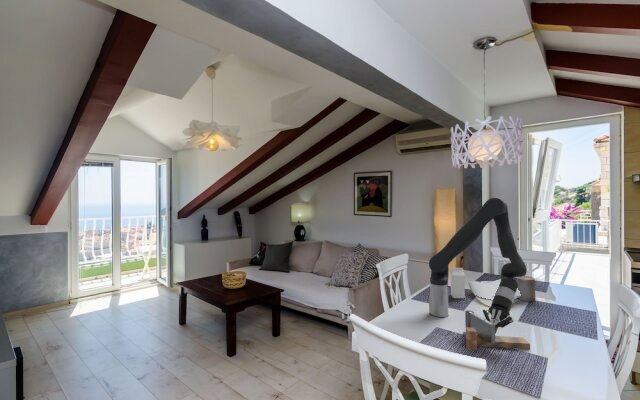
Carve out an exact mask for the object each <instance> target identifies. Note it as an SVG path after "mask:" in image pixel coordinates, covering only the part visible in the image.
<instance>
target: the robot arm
mask: <svg viewBox="0 0 640 400" xmlns="http://www.w3.org/2000/svg"><path fill="white" fill-rule="evenodd" d="M492 220H493V221H494V224H495V228H496V234H497V243H498V247H499V250H500V254H501V256H502V257H503V259H504V258H505V259H509V261H510V262H507V263H505V264H503V265H502V267H501V269H500V284H499V287H498V289H497V291H496V293H495V296H493V299H492V302H491V305H490V306H489V308H488V309H482V313H483V316H484V319H486V320H488V321H490V322H491V323H493V324H495V335H496V334H497V331H498V328H502V329H503V328H505V327H506V326H508V325H510V324H513V322H514V319H513V317H512V316H511V315H510V312H511V309H512V306H513V304H514V301H515V297H516V294H517V287H518V283H517V280H515V278H517V277H522V276H526V274H527V272H528V271H527V266H526V263H525V262H524V260H523V259H522V256H521V255H520V254H519V252H518V249H517V245H516V241H515V238H514V236H513V232H512V229H511V225H510V218H509V209H508V204H507V203H506V202H505V201H504V200H503V199H501V198H500V197H490V198H488V199H487V200H486V201H485V202H484V203H483V205H482V206H481V207H480V209H478V211H477V212H476V213H475V215H473V216H472V217H471V218H470V219H469V220H467V222H466V223H465V224H464V225H462V226H461V228H460V229H459V230H458V231H457V232H456V233H455V234H454V235H452V237H451V238H450V240H449V241H448V242H447V244H446V245H445V246H444V247H443V248H442V249H441V250H439V251H438V252H437V253H436V254H434V255H433V256H431V258H430V259H429V261H428V267H429V269H430V272H431V273H430V278H429V279H430V280H429V282H430V283H429V284H430V285H429V286H430V287H429V288H430V289H429V290H430V291H429V292H430V295H429V296H428V312H429V314H431V316H433V317H437V318H447V317H448V316H449V269H450V268H449V265H450V263H451V262H452V261H453V260H454V259H455V258H456V257H457V256H459V255H460V254H462V253H463V252H465V251H466V250H467V249H468V248H469V247H470V246H471V245H472V244H473V243H474V242H475V241H476V240H478V238H479V237H480V235H481V234H482V232H483V230H484V228H485V227H486V226H487V225H488V224H489V222H491V221H492Z"/></svg>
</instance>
